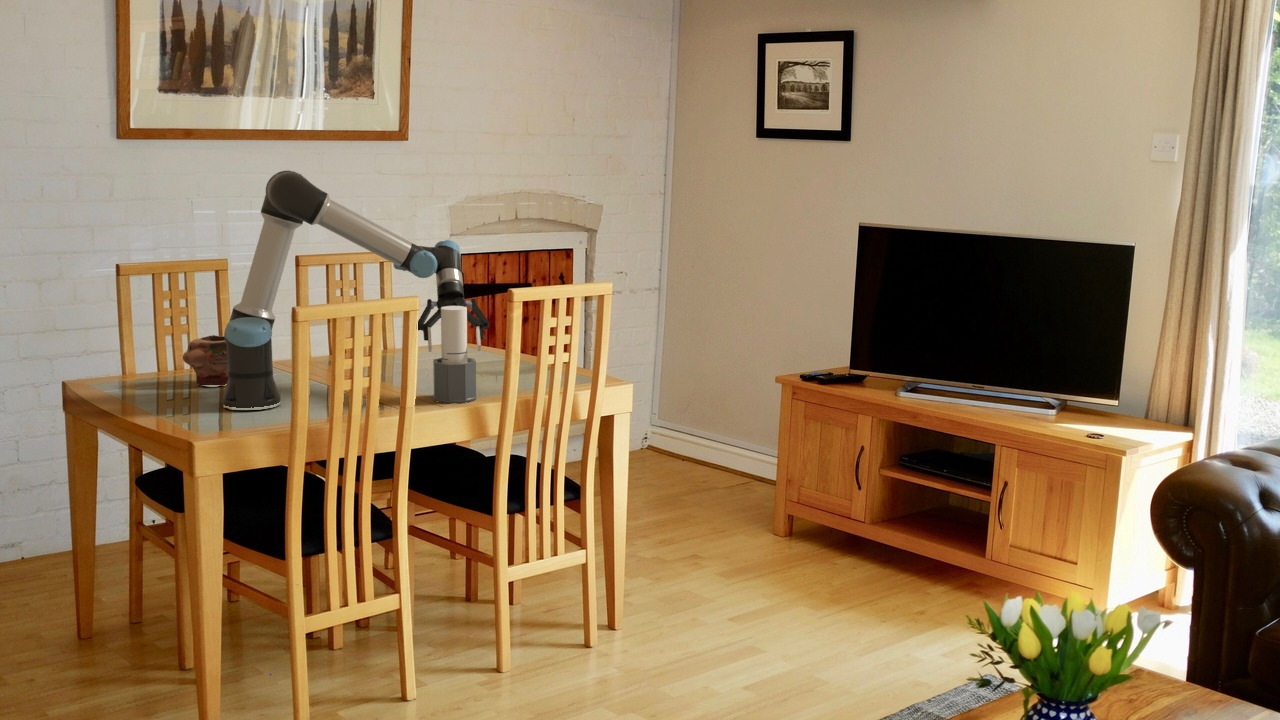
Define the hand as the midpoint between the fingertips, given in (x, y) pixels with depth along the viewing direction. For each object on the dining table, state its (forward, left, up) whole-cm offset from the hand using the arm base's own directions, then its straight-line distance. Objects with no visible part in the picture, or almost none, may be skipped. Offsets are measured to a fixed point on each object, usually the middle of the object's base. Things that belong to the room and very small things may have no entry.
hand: (454, 348), depth 344 cm
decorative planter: (-66, +32, -15) cm, 75 cm away
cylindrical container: (0, +2, -14) cm, 14 cm away
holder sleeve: (0, +2, -15) cm, 15 cm away
